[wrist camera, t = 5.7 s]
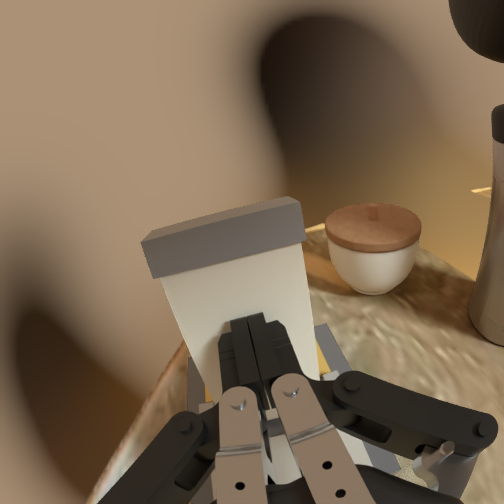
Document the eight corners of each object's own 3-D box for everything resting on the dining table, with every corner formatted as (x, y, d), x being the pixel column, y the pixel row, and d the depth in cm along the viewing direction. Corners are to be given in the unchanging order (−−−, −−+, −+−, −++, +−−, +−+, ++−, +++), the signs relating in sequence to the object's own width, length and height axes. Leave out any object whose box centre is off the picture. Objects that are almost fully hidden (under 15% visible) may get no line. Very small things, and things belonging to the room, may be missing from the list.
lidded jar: (406, 255, 33) (409, 188, 28) (422, 307, 24) (435, 225, 20) (331, 257, 36) (325, 191, 32) (325, 309, 28) (319, 228, 23)
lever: (326, 406, 14) (300, 201, 10) (225, 431, 14) (140, 242, 10) (316, 385, 16) (287, 196, 12) (223, 408, 16) (152, 230, 12)
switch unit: (389, 479, 11) (406, 463, 9) (209, 522, 10) (183, 516, 8) (327, 345, 23) (325, 312, 21) (199, 377, 23) (183, 348, 21)
